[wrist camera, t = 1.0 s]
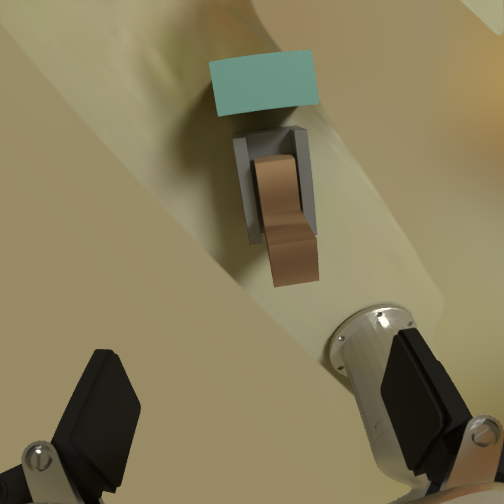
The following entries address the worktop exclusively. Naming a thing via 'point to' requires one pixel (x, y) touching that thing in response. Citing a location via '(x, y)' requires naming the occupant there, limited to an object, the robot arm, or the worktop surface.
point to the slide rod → (285, 222)
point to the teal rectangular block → (264, 82)
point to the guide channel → (265, 145)
